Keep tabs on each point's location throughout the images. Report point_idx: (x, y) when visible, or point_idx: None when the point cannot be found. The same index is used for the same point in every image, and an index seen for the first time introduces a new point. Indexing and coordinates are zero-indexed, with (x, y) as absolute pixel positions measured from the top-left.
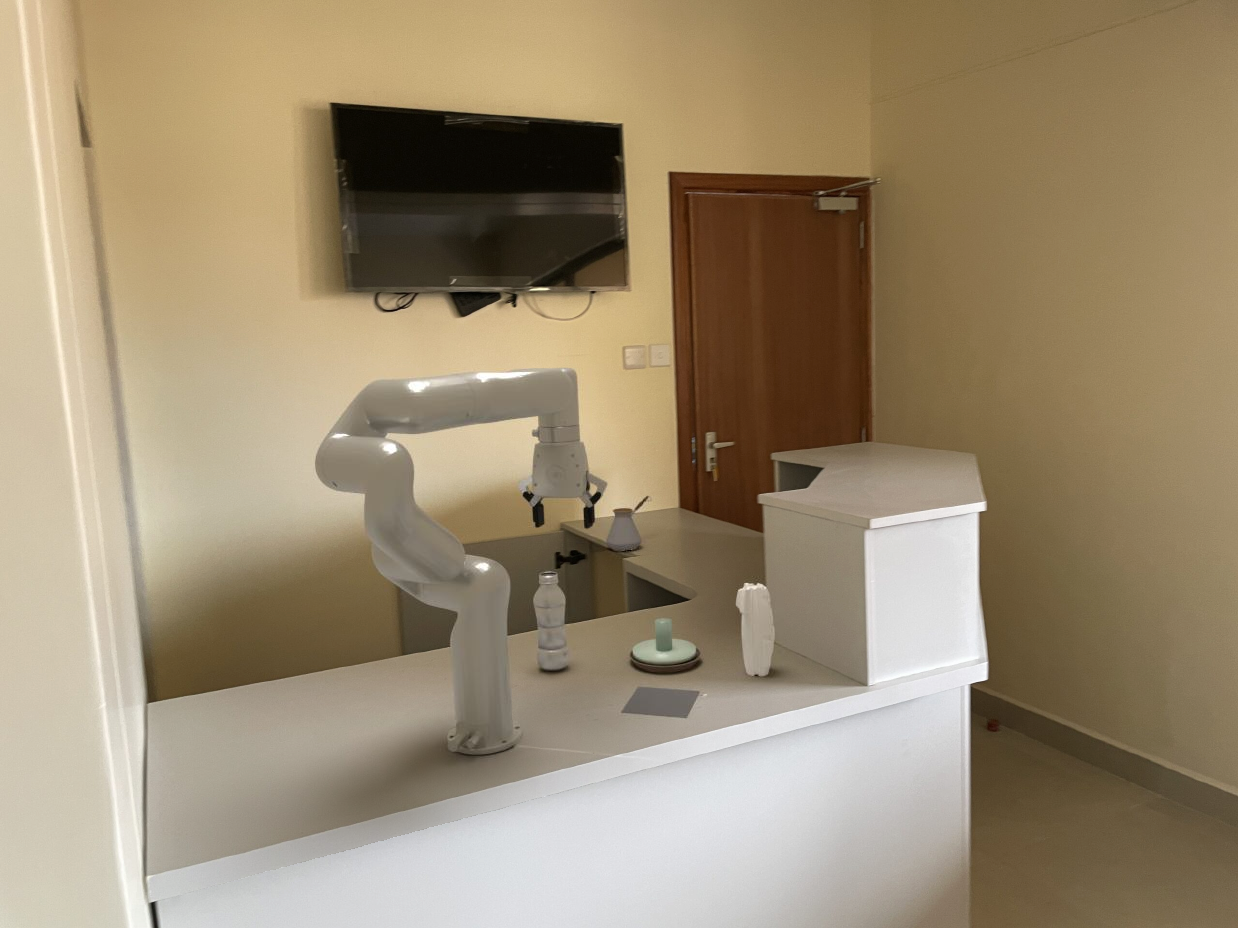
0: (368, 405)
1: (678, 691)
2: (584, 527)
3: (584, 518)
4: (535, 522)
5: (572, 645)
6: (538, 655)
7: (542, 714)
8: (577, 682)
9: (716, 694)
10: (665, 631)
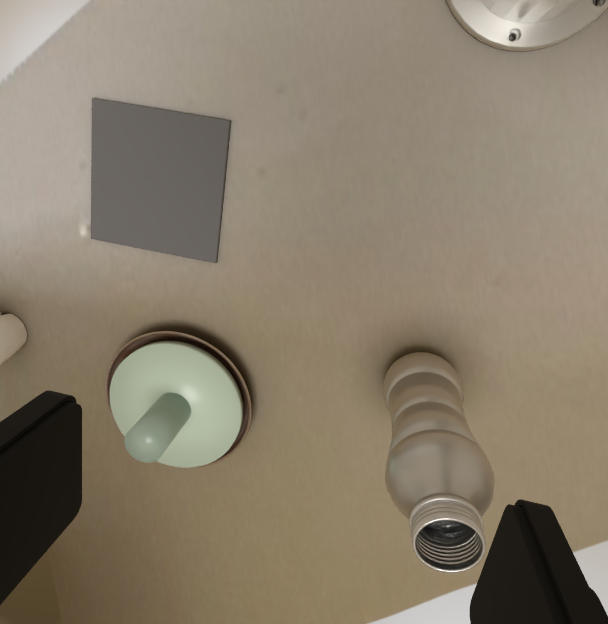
0: None
1: (131, 236)
2: (76, 403)
3: (13, 447)
4: (558, 534)
5: None
6: (456, 377)
7: (408, 111)
8: (353, 297)
9: (62, 231)
10: (145, 416)
